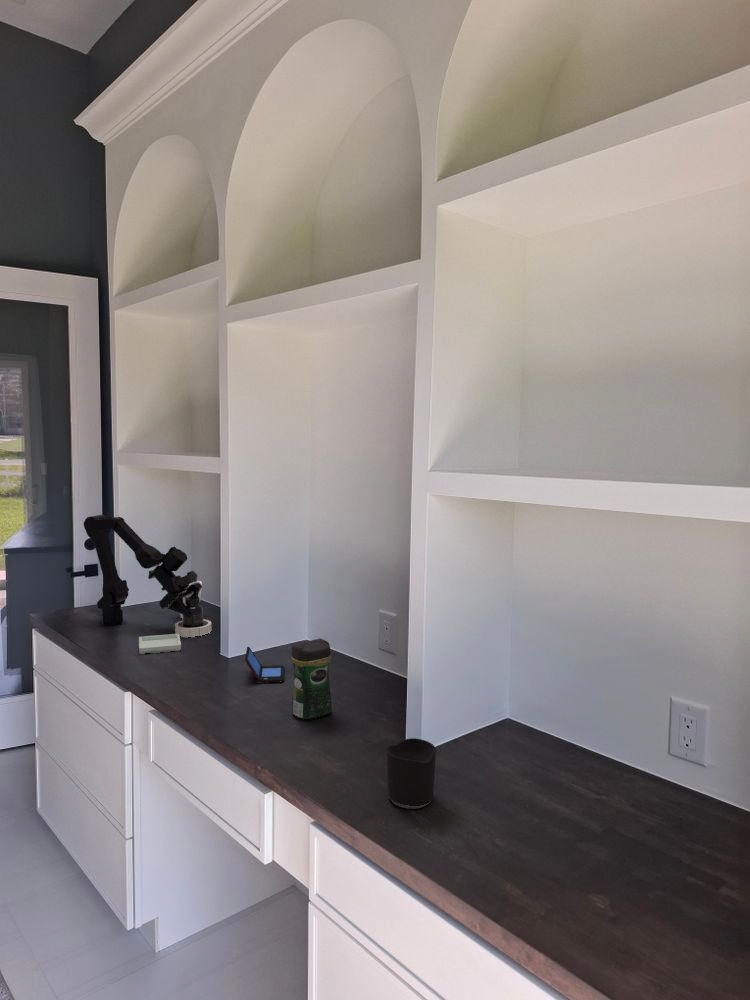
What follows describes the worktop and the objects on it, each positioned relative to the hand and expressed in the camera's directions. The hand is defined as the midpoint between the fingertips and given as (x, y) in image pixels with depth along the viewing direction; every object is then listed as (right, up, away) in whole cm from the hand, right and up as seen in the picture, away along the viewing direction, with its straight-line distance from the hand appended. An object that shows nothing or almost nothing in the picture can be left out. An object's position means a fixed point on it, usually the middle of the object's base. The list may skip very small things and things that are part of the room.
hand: (196, 613), depth 243 cm
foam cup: (-8, -5, +20) cm, 22 cm away
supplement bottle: (-1, -7, +1) cm, 7 cm away
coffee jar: (+45, -14, -67) cm, 82 cm away
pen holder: (+68, -19, -107) cm, 128 cm away
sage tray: (-8, -8, -15) cm, 19 cm away
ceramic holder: (-1, -7, +1) cm, 7 cm away
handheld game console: (+30, -12, -41) cm, 52 cm away
